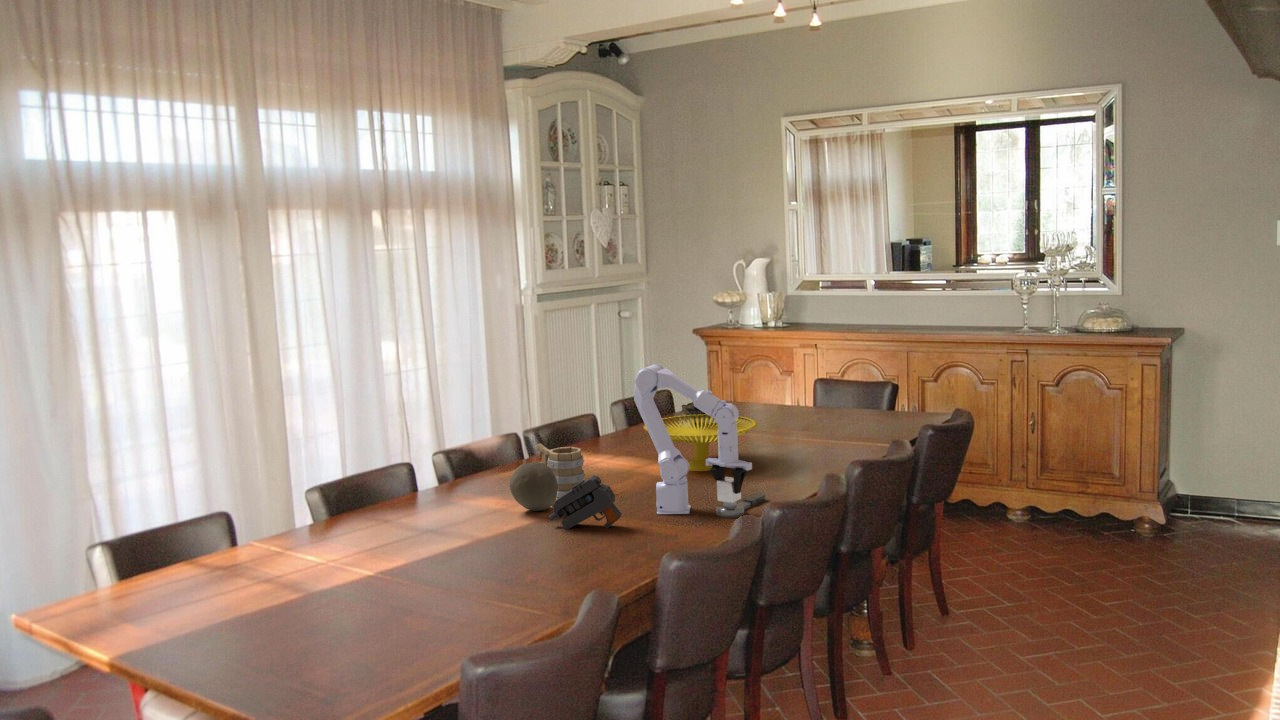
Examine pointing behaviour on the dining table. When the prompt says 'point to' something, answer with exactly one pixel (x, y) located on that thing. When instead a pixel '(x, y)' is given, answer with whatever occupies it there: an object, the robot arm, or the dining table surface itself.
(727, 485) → the white boxy piece
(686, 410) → the dark rounded lump
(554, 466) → the tankard
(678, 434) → the cake stand
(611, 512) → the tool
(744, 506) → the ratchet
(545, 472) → the cantaloupe
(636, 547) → the dining table surface
